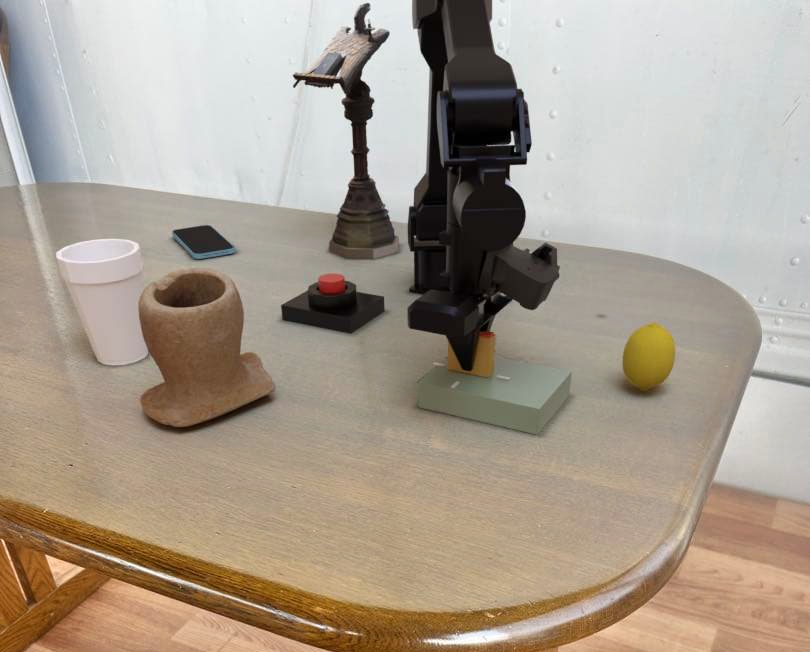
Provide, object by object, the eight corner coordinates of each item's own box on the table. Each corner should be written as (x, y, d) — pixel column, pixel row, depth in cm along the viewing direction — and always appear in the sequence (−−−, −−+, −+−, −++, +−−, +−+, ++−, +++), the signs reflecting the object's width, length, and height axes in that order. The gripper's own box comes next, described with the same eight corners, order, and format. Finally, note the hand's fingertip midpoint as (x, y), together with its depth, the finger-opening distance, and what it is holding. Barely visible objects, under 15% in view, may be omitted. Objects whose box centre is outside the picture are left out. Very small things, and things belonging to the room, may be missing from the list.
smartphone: (194, 255, 132) (170, 230, 143) (195, 261, 133) (171, 236, 143) (236, 248, 135) (209, 224, 145) (237, 254, 135) (210, 230, 146)
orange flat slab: (447, 369, 90) (448, 328, 87) (452, 364, 91) (453, 324, 88) (488, 377, 88) (490, 336, 85) (493, 373, 89) (496, 331, 86)
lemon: (611, 381, 94) (621, 314, 89) (658, 379, 94) (670, 312, 90) (626, 403, 90) (637, 333, 85) (675, 400, 90) (689, 331, 85)
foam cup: (175, 345, 105) (155, 242, 97) (133, 374, 98) (108, 266, 90) (113, 337, 107) (88, 236, 99) (68, 365, 100) (38, 258, 92)
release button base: (282, 320, 111) (279, 291, 108) (318, 299, 117) (316, 272, 115) (351, 334, 107) (349, 304, 104) (384, 311, 113) (383, 283, 111)
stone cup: (182, 450, 83) (152, 307, 74) (130, 410, 90) (98, 275, 81) (304, 404, 91) (290, 269, 82) (247, 370, 98) (229, 244, 89)
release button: (313, 292, 109) (312, 279, 108) (328, 284, 112) (327, 271, 111) (336, 296, 108) (335, 283, 107) (350, 288, 110) (349, 275, 109)
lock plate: (413, 406, 90) (412, 379, 88) (452, 371, 97) (452, 346, 95) (537, 435, 84) (539, 407, 82) (569, 396, 91) (572, 370, 89)
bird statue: (341, 273, 127) (324, 5, 106) (293, 254, 135) (268, 2, 114) (419, 250, 135) (418, -2, 114) (370, 234, 143) (360, -4, 122)
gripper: (515, 258, 70) (505, 418, 80) (584, 207, 84) (568, 349, 93) (403, 241, 75) (406, 395, 84) (485, 195, 88) (479, 333, 97)
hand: (470, 367), depth 89 cm, fingers closed on orange flat slab
